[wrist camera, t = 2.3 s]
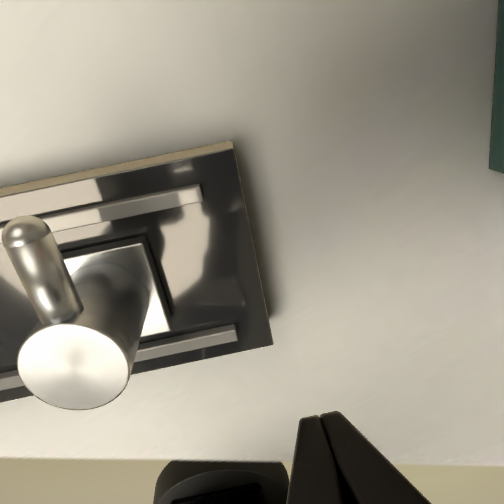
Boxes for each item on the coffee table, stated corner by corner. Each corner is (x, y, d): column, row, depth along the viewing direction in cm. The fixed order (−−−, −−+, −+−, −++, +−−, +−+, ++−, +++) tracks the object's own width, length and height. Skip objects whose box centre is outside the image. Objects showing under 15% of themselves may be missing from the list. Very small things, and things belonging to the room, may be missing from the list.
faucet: (173, 320, 17) (159, 405, 13) (80, 340, 17) (34, 431, 13) (124, 168, 14) (85, 209, 10) (14, 191, 14) (-75, 242, 10)
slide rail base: (268, 320, 20) (275, 351, 18) (-86, 395, 20) (-124, 436, 18) (231, 139, 16) (234, 150, 14) (-203, 229, 16) (-271, 255, 14)
